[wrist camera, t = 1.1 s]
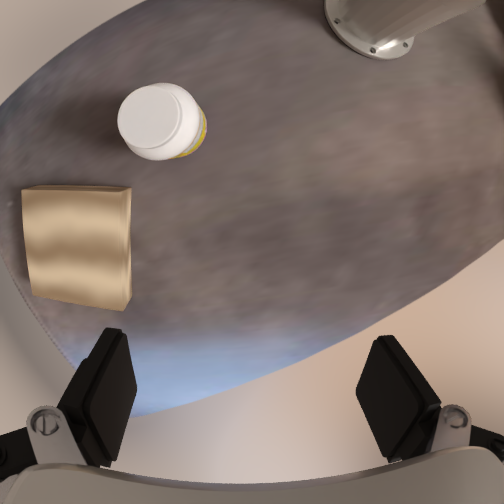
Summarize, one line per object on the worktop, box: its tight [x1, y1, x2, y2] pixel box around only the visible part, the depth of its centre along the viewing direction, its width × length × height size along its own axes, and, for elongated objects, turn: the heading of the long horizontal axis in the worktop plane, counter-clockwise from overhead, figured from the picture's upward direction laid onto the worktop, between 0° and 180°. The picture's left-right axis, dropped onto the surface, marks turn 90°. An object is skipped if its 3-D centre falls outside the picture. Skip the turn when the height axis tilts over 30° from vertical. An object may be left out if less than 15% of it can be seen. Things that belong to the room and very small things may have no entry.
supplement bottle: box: [117, 83, 207, 160], centre depth 24 cm, size 7×7×13 cm
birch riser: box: [22, 185, 132, 311], centre depth 31 cm, size 14×14×4 cm
